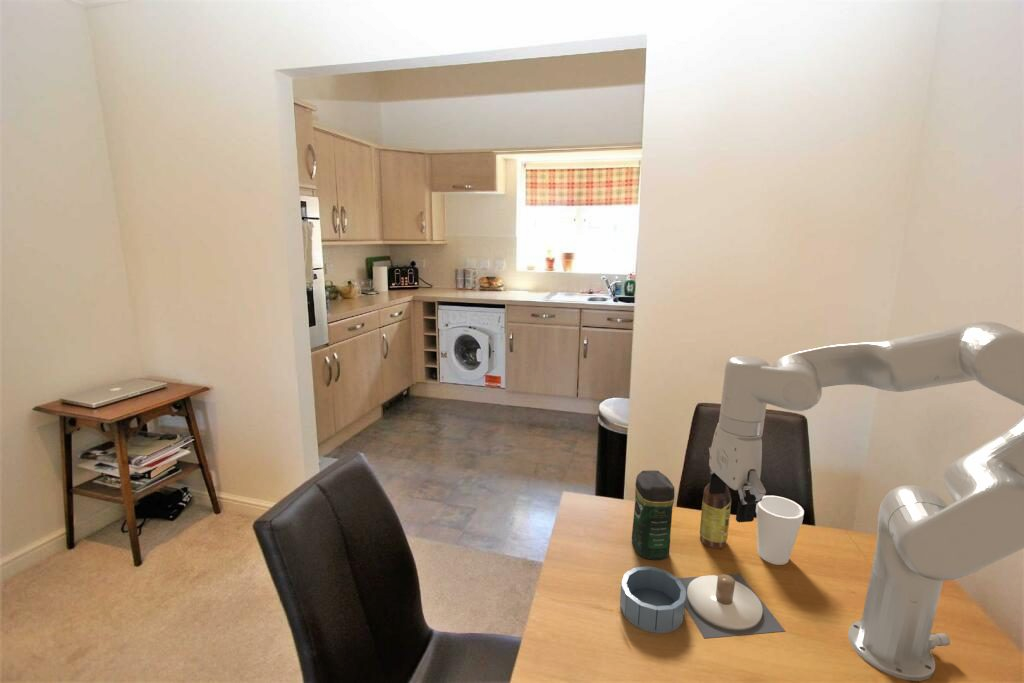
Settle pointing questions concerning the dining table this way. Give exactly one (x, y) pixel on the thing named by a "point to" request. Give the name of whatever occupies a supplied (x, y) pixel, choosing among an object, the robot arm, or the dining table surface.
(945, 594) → the dining table surface
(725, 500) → the sauce bottle
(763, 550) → the foam cup
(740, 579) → the mat
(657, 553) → the coffee jar
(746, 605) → the lid
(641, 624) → the bowl
